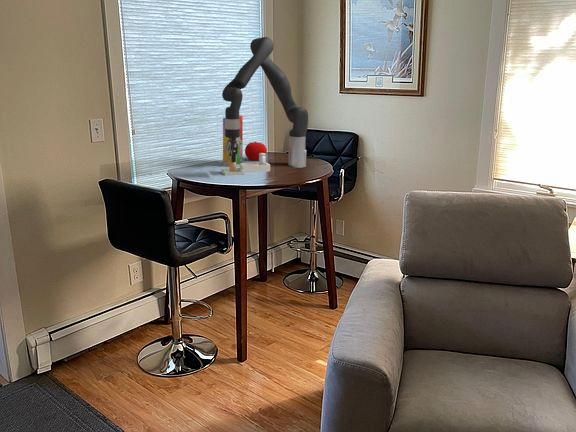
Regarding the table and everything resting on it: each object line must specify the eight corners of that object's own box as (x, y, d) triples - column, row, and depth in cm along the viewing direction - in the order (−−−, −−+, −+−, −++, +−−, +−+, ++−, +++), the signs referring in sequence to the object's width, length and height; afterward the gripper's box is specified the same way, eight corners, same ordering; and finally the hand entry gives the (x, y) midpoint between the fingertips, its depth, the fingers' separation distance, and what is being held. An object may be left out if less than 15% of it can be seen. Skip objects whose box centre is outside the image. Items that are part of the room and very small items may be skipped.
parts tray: (239, 172, 286) (239, 168, 286) (244, 176, 277) (244, 171, 277) (221, 173, 283) (221, 168, 283) (225, 177, 274) (225, 172, 274)
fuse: (264, 169, 291) (264, 152, 289) (265, 170, 288) (266, 154, 286) (258, 169, 290) (258, 153, 288) (259, 171, 287) (260, 154, 284)
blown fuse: (235, 173, 282) (235, 155, 280) (236, 174, 279) (237, 156, 277) (228, 173, 281) (229, 155, 279) (230, 174, 278) (230, 156, 276)
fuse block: (266, 170, 294) (266, 162, 292) (270, 173, 287) (270, 164, 286) (239, 171, 289) (239, 163, 288) (242, 174, 283) (242, 165, 281)
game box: (232, 168, 297) (232, 118, 289) (222, 168, 298) (222, 118, 290) (242, 162, 316) (242, 115, 309) (233, 161, 317) (233, 114, 310)
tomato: (242, 158, 327) (242, 140, 323) (262, 157, 332) (262, 139, 329) (249, 162, 316) (249, 143, 313) (269, 161, 322) (270, 142, 319)
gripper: (243, 129, 268) (243, 163, 273) (236, 126, 281) (236, 158, 286) (228, 129, 266) (228, 164, 271) (222, 126, 279) (222, 159, 284)
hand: (232, 161), depth 278 cm, fingers open, 4 cm apart
